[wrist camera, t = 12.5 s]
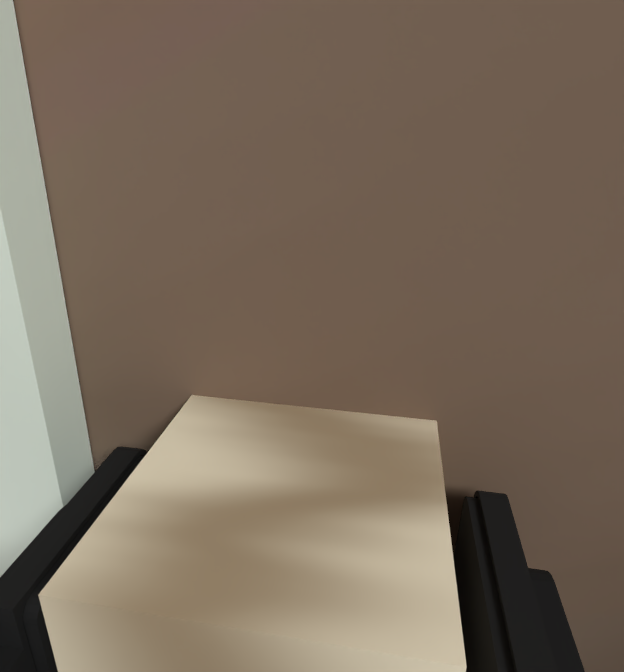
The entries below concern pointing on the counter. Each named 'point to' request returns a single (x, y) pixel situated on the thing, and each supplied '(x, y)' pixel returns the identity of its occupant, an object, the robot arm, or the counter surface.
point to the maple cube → (267, 550)
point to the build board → (32, 330)
